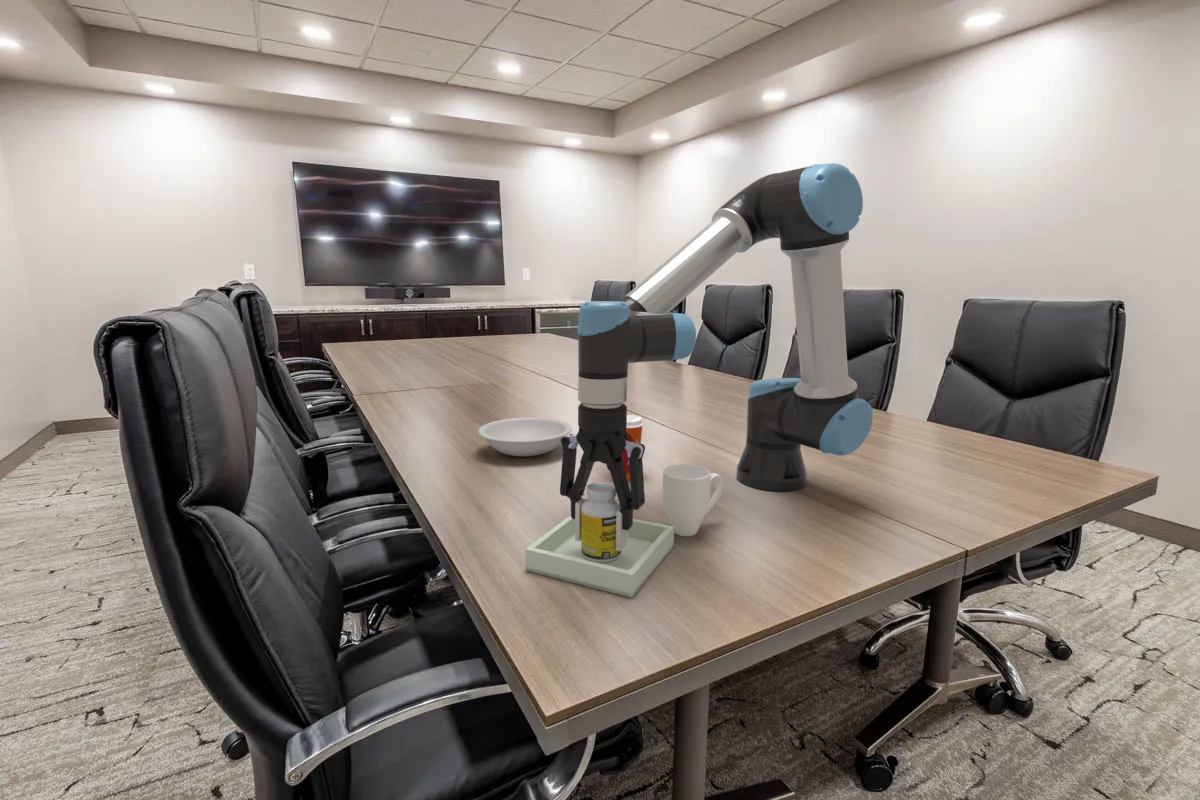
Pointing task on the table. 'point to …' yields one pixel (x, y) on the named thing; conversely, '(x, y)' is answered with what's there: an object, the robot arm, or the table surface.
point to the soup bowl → (525, 435)
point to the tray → (619, 576)
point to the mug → (688, 496)
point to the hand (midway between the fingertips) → (600, 542)
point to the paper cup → (632, 438)
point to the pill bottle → (599, 523)
